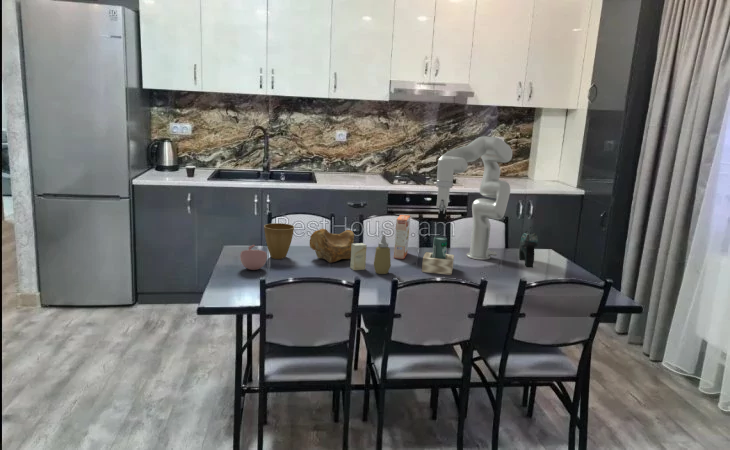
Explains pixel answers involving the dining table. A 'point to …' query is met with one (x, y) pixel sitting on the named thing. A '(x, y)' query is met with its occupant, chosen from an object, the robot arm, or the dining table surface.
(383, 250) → the squeeze bottle
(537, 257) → the dining table surface
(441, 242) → the can
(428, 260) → the well block
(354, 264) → the skincare box
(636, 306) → the dining table surface
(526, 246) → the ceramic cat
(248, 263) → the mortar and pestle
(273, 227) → the plant pot
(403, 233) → the cracker box
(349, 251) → the rough brown rock
